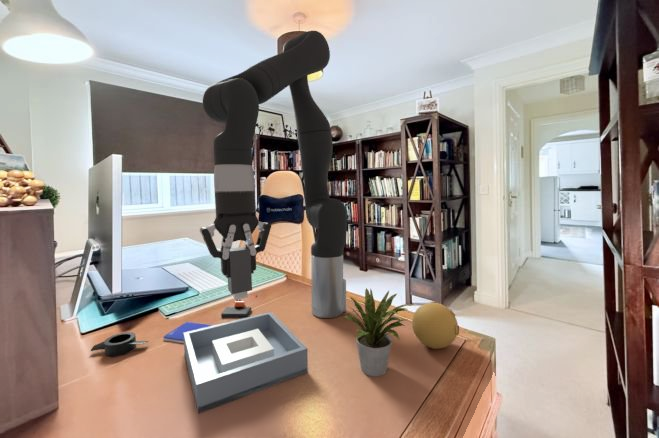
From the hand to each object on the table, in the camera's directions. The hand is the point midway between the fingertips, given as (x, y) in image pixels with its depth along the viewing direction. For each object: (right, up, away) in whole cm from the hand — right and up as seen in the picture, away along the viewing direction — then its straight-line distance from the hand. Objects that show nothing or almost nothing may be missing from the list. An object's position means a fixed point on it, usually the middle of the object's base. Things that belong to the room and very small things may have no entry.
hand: (239, 274), depth 59 cm
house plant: (+27, -19, -1) cm, 33 cm away
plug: (0, -5, +1) cm, 5 cm away
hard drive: (-15, -18, +14) cm, 28 cm away
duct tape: (-29, -19, +7) cm, 36 cm away
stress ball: (+42, -18, +8) cm, 47 cm away
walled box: (0, -19, +2) cm, 19 cm away
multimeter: (-10, -16, +32) cm, 38 cm away
